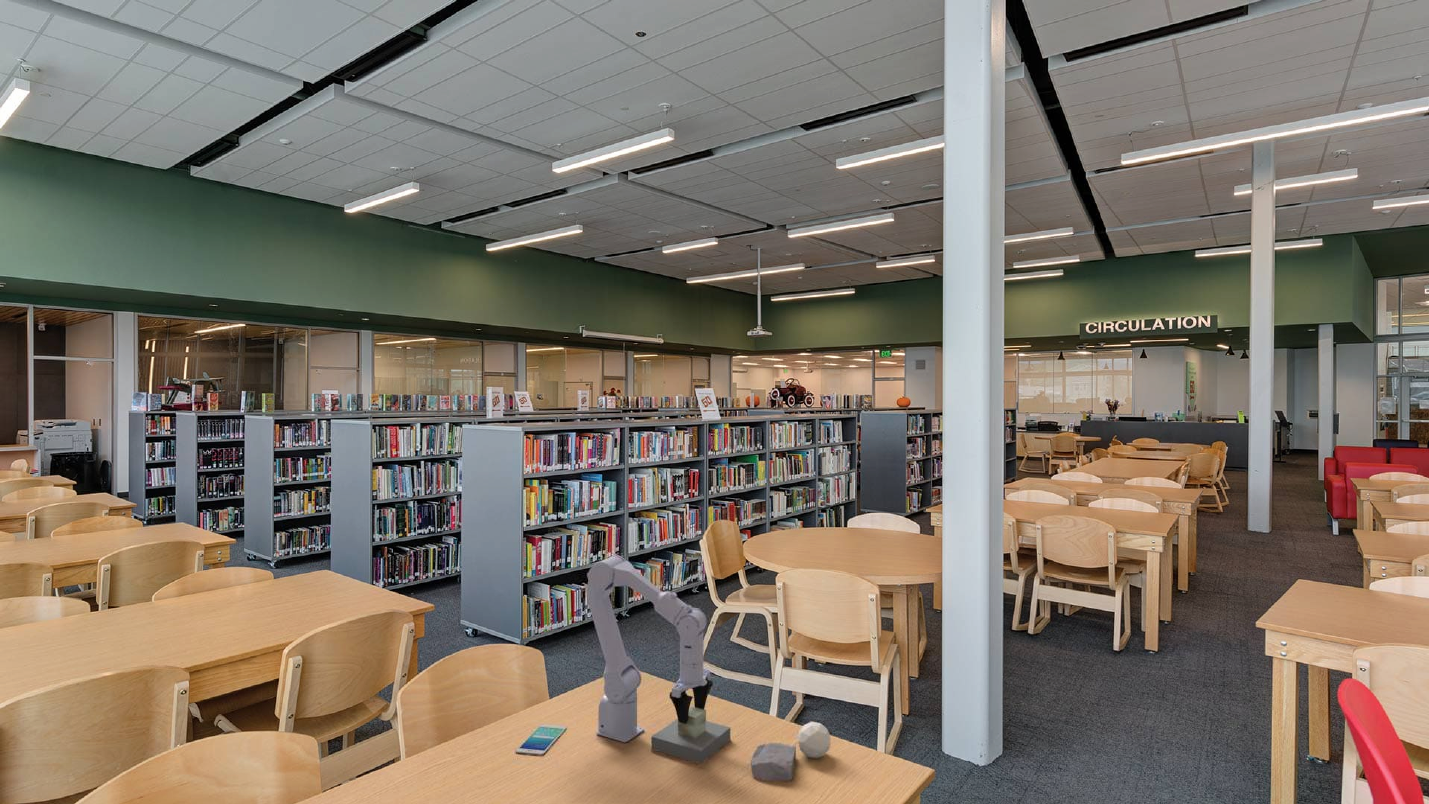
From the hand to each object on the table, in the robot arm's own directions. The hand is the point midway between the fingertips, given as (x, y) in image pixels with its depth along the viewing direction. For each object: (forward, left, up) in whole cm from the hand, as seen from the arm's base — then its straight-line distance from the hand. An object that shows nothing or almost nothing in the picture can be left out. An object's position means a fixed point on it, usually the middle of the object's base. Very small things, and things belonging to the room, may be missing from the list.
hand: (691, 716), depth 173 cm
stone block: (+22, 0, -7) cm, 23 cm away
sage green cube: (0, 0, -4) cm, 4 cm away
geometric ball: (+28, +10, -7) cm, 31 cm away
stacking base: (0, 0, -7) cm, 7 cm away
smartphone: (-33, -17, -7) cm, 38 cm away
